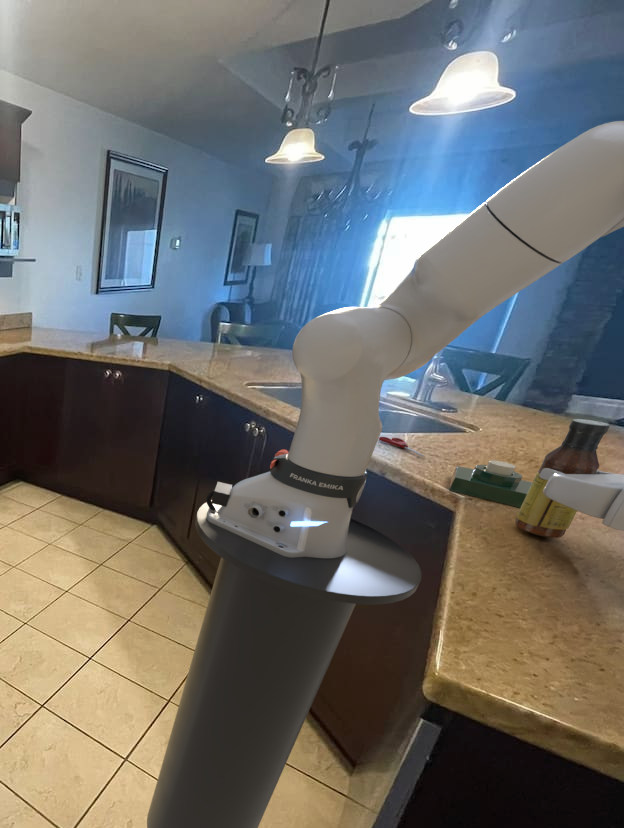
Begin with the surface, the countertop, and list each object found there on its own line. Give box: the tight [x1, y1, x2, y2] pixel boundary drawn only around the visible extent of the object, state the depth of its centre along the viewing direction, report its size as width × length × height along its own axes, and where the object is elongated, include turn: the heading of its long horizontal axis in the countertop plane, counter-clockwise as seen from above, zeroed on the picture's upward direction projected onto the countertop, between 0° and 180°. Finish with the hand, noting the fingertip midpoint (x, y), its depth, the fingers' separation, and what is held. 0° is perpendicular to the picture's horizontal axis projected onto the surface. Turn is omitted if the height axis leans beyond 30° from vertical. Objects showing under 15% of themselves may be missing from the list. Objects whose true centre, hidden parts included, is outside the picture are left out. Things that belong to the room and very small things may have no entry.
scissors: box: [378, 436, 424, 457], centre depth 127 cm, size 5×14×1 cm, turn 173°
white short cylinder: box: [485, 459, 517, 476], centre depth 100 cm, size 4×4×2 cm
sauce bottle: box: [514, 418, 611, 539], centre depth 82 cm, size 6×6×20 cm
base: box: [448, 464, 533, 509], centre depth 102 cm, size 12×10×5 cm
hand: (563, 472), depth 82 cm, fingers closed on sauce bottle, 6 cm apart
